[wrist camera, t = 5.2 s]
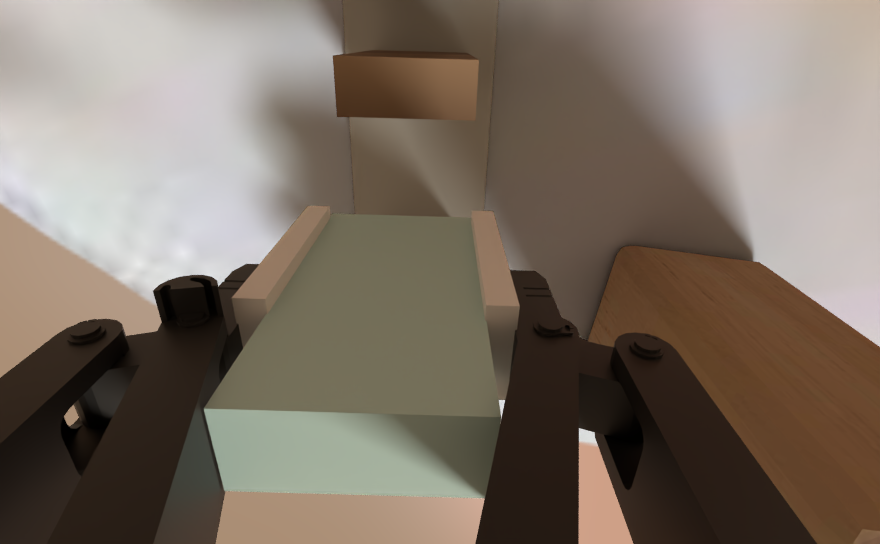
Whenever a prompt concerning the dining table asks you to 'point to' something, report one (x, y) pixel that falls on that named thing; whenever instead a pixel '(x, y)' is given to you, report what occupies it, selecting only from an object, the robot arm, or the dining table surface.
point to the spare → (366, 370)
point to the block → (766, 376)
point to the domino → (406, 85)
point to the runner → (422, 140)
